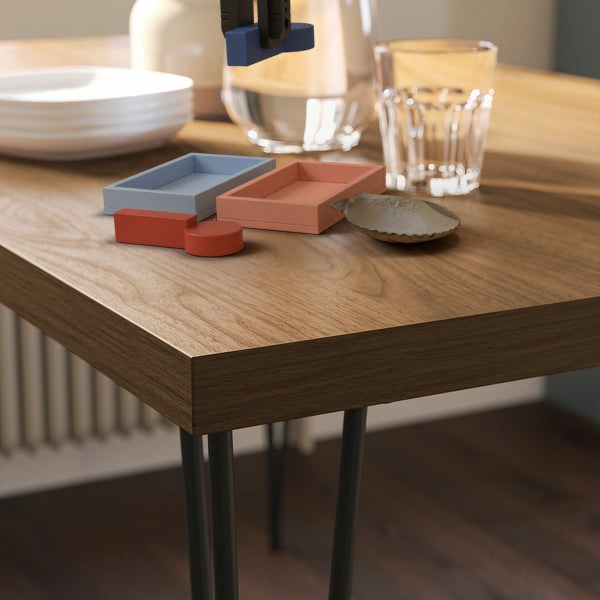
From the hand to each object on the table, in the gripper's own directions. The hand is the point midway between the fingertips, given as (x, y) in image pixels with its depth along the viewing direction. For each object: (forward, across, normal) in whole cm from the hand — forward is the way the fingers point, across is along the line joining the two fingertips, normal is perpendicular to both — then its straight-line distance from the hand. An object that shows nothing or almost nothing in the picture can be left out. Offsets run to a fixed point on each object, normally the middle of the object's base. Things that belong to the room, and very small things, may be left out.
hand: (256, 46), depth 72 cm
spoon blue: (+1, 0, -2) cm, 2 cm away
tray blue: (+13, +11, -11) cm, 20 cm away
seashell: (+13, -7, -5) cm, 16 cm away
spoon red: (+13, +6, +1) cm, 14 cm away
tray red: (+13, +2, -11) cm, 17 cm away
